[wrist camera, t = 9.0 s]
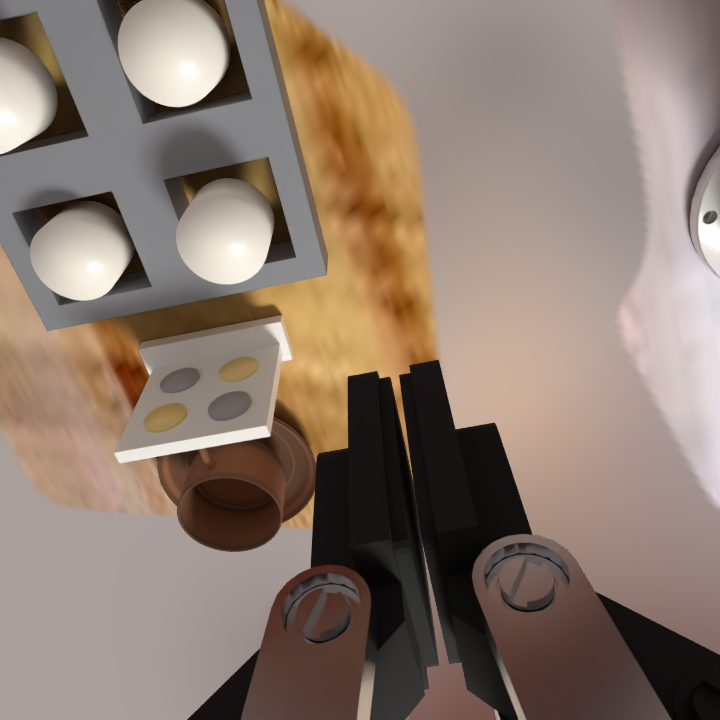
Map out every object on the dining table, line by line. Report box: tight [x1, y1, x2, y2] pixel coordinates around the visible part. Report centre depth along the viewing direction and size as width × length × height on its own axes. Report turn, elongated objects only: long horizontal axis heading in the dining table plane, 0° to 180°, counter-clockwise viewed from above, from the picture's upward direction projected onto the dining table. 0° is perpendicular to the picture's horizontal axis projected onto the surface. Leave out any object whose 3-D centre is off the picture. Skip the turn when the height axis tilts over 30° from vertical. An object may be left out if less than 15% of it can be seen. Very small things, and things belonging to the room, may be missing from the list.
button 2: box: [176, 178, 274, 284], centre depth 35 cm, size 5×5×4 cm
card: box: [114, 315, 293, 463], centre depth 40 cm, size 10×3×10 cm, turn 102°
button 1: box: [118, 0, 231, 107], centre depth 32 cm, size 5×5×4 cm
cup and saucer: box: [158, 417, 316, 552], centre depth 47 cm, size 12×12×6 cm
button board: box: [0, 0, 328, 331], centre depth 36 cm, size 18×18×3 cm
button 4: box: [30, 201, 135, 301], centre depth 37 cm, size 5×5×4 cm
